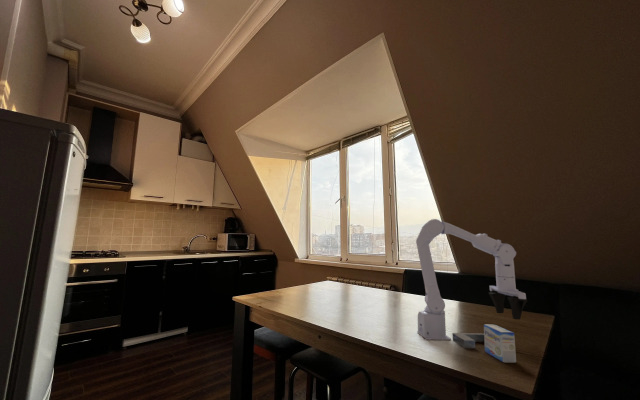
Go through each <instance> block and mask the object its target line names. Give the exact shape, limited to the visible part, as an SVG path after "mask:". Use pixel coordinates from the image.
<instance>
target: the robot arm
mask: <svg viewBox="0 0 640 400" xmlns="http://www.w3.org/2000/svg"><path fill="white" fill-rule="evenodd" d="M439 235H452V236H455V237H457V238H459V239H462V240H464V241H467V242H470V243H471V245H472V246H473V248H476V249H477V250H480V251H482V252H485V253H487V254H490V255H492V256H493V257H494V261H495V262H494V264H495V265H494V269H495V281H496V283H495V284H496V285H489V291H490V292H488V296H489V297H490V299H491V300H492V302H493V305H494V307H495V311H496V313H497V314H504V312H505V311H504V310H505V309H504V308H505V298H506V296H507V301H508V303H509V306H510V309H511V316H512V318H513V320H521V318H522V314H523V310H524V308H525V305H526V304H527V303H528V299H527V295H526V293H525V292H523V291H519V289H517V287H516V274H515V261H514V258H515V257H516V256H517V251H516V250H515V248H514V247H513V246H512V245H511V244H509V243H502V240H501V239H494V238H492V237H490V236H488V233H477V234H474V233H471V232H470V231H468V230H465V229H463V228H461V227H458V226H456V225H453V224H451V223H449V222H446V221H443V220H442V221H441V220H439V219H437V218H431V219H430V220H428V221H426V223H425V224H424V225H423V226H422V227H421V229H420V231H419V233H418V236H417V237H416V239H415V240H416V241H415V243H416V247H417V249H416V250H417V253H418V258H419V262H420V269H421V274H422V278H423V284H424V289H425V296H424V302H425V304H426V306H425V307H424V310H421V311H418V313H417V331H416V332H417V333H418V335H420V336H421V337H422V338H424V339H426V340H430V341H431V340H432V341H433V340H435V341H436V340H438V341H441V340H443V341H449V340H452V339H451V337H449V336H448V335H447V332H446V331H447V329H446V327H447V326H446V310H445V308H446V304H445V303H446V302H445V300H444V299H443V298H442V296H441V293H440V289H439V285H438V282H437V277H436V272H435V268H434V263H433V258H432V253H431V249H430V244H431V243H432V241H433V240H434V239H435V238H436V237H437V236H439Z"/></svg>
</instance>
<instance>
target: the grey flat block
mask: <svg viewBox="0 0 640 400" xmlns="http://www.w3.org/2000/svg"><path fill="white" fill-rule="evenodd" d="M452 341H453V342H455V343H456V344H458V345H459V346H461V347H462V348H463V349H476V343H485V341H484V332H483V333H480V332H479V333H476V332H475V333H471V332H470V333H468V332H452Z"/></svg>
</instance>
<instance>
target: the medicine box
mask: <svg viewBox="0 0 640 400" xmlns="http://www.w3.org/2000/svg"><path fill="white" fill-rule="evenodd" d="M483 333H484V341H485V342H484V352H485V353H487V354H488V355H489V356H491V357H493V358H495V359H497V360H499V361H500V362H502V363H506V364H507V363H512V364H514V363H517V354H516V353H517V352H516V340H515V339H516V338H515V332H513V331H510V330H508V329H506V328H503V327H501V326H499V325H496V324H489V323H488V324H487V323H486V324H485V323H484V324H483Z"/></svg>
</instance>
